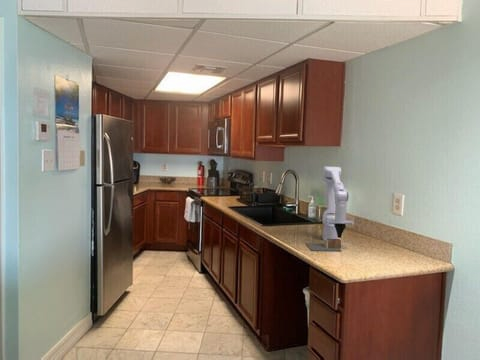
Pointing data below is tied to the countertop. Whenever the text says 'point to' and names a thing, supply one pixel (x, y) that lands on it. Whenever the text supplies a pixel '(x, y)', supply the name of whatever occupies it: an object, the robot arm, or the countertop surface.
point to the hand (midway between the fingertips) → (339, 237)
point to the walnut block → (332, 243)
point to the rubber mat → (321, 247)
